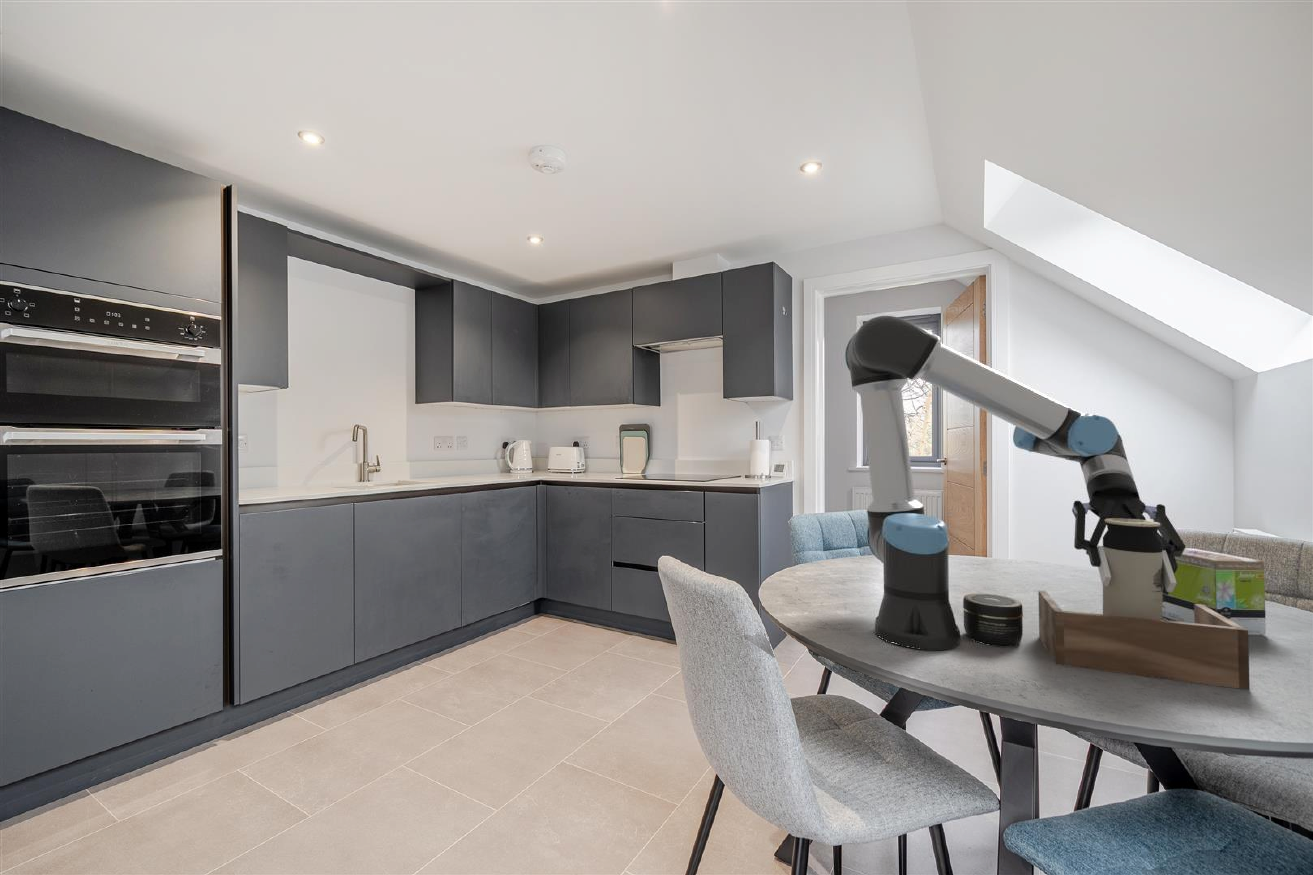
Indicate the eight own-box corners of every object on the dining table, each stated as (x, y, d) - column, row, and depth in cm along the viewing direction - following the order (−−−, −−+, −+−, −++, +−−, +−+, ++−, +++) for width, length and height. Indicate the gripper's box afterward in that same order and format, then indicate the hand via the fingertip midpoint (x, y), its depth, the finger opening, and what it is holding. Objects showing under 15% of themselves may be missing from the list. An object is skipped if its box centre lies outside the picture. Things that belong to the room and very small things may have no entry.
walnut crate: (1039, 636, 110) (1038, 590, 110) (1204, 655, 99) (1203, 604, 99) (1056, 664, 96) (1055, 611, 96) (1249, 689, 85) (1248, 630, 86)
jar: (964, 627, 116) (963, 590, 116) (1022, 635, 111) (1021, 596, 111) (962, 642, 107) (961, 602, 107) (1025, 651, 102) (1024, 609, 102)
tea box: (1269, 636, 109) (1267, 560, 109) (1216, 636, 109) (1214, 560, 110) (1196, 613, 124) (1194, 546, 125) (1150, 613, 124) (1148, 546, 125)
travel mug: (1092, 619, 101) (1092, 518, 101) (1120, 615, 103) (1120, 517, 104) (1144, 633, 93) (1143, 524, 93) (1173, 628, 96) (1173, 523, 96)
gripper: (1173, 498, 108) (1212, 603, 93) (1043, 493, 117) (1060, 589, 102) (1184, 472, 103) (1228, 578, 88) (1048, 469, 112) (1067, 565, 97)
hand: (1138, 584), depth 95 cm, fingers closed on travel mug, 8 cm apart
